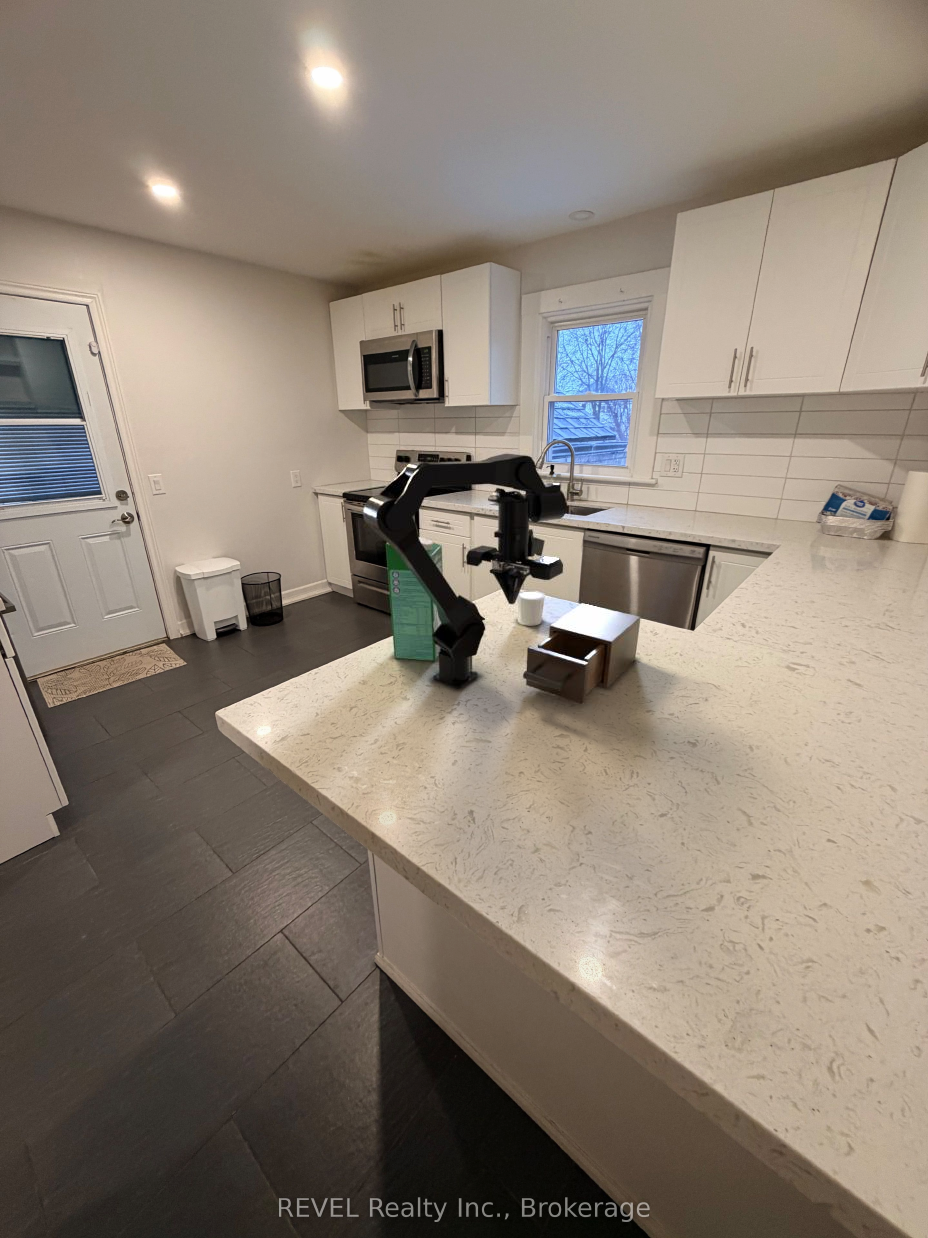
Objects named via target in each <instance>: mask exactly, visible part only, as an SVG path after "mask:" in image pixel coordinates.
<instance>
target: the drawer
mask: <svg viewBox="0 0 928 1238" xmlns="http://www.w3.org/2000/svg"><path fill="white" fill-rule="evenodd" d="M606 654H607V644H604V643H600V642H596V641H592V640H588V639H585V638H581V637H577V636H573V635H570V634H566V633H562V632H558V631H557V632H556V633H554V634H553V635H551V636H550V637H549V636H548V637H546V638H545V639H544V640H542V641H541V642H539V643H538V644H537V646H534V645H529V646H528V647H527V649H526V670H525V671H524V672H523V674H522V679H524V680H525V685H526V686H527V687H530V688H533V689H536V690H539V691H541V692H545V693H547V694H549V695H553V696H556V697H559V698H562V699H565V700H567V701H571V702H573V703H575V704H579V705H584V704H585V703H586V697H587V695H588V694H589V693H590V692H591V691H592V690H593V689H594V688H595V687H596V686H598V685H597V684H598V683H599V682H600V681H601V680H602V679H603V678H604V673H605V663H606Z"/></svg>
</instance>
